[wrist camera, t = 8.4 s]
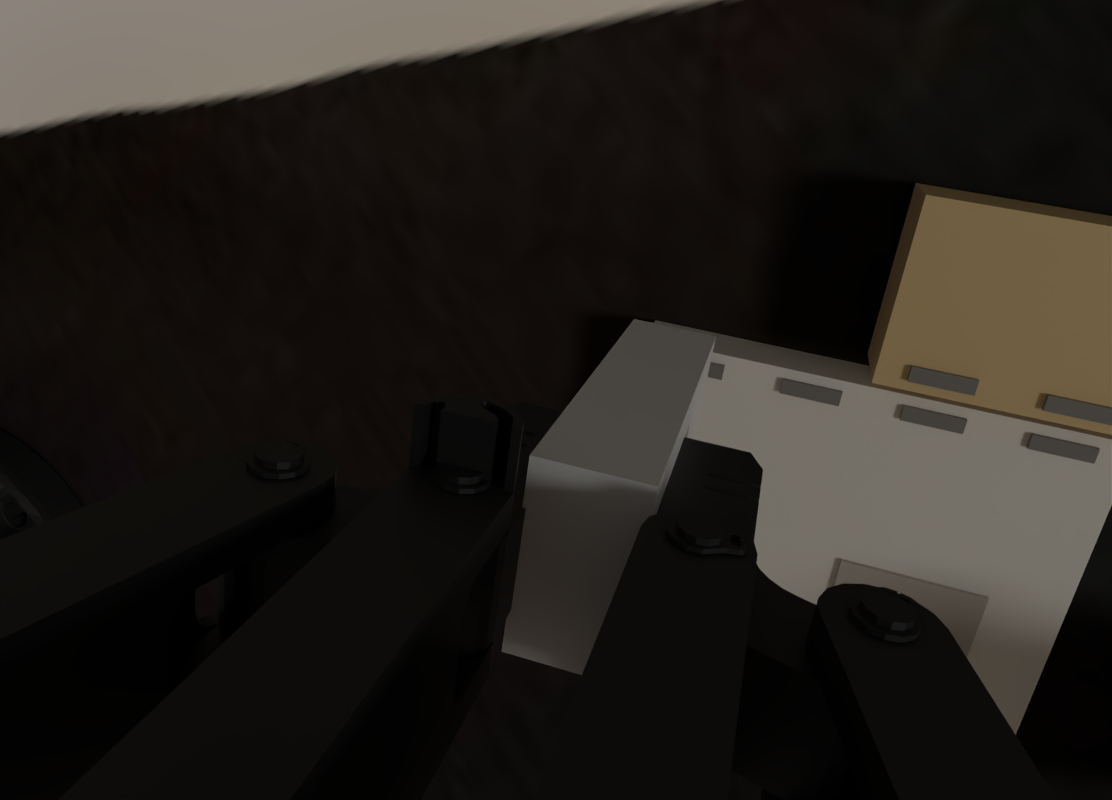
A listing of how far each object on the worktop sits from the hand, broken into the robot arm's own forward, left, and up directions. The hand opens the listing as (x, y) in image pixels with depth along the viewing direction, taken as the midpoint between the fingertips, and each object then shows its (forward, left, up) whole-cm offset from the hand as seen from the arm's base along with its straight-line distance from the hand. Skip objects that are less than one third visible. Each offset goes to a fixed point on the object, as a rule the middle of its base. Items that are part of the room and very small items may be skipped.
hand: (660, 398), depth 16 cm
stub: (+13, 0, -17) cm, 22 cm away
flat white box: (+5, -9, -17) cm, 20 cm away
